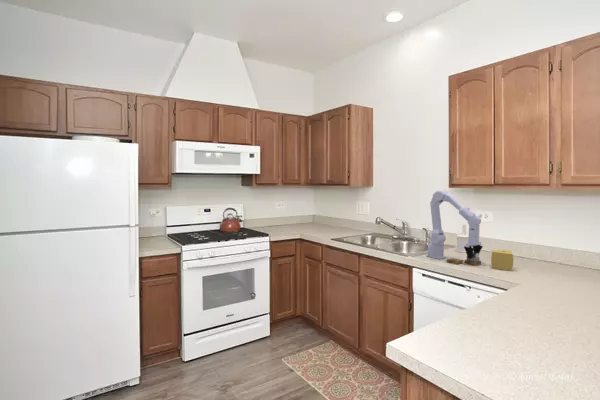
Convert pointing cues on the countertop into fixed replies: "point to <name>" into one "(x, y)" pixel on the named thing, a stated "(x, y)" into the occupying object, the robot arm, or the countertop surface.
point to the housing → (474, 257)
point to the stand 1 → (454, 261)
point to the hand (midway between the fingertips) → (472, 257)
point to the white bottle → (462, 240)
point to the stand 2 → (472, 262)
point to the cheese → (502, 260)
